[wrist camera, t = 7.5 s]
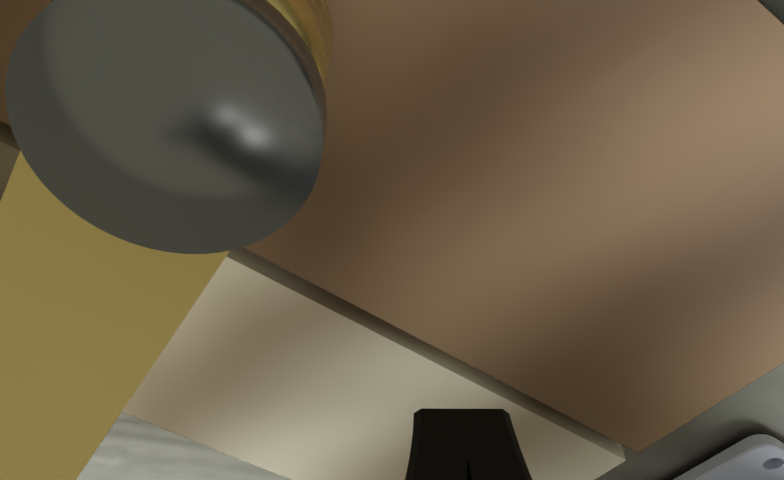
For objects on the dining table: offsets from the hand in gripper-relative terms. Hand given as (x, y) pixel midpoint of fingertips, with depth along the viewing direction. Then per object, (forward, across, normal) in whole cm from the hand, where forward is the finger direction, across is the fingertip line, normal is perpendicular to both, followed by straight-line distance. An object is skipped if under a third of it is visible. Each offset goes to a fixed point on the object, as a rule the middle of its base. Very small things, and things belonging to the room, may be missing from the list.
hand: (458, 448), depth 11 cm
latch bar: (+4, +6, -2) cm, 7 cm away
